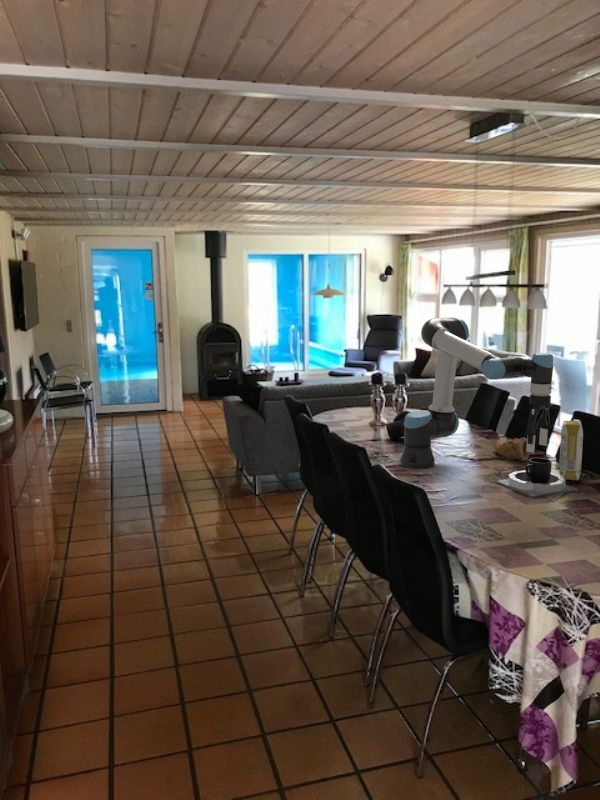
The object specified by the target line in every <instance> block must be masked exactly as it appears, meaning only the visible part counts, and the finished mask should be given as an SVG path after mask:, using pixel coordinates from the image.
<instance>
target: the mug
mask: <svg viewBox="0 0 600 800" xmlns="http://www.w3.org/2000/svg"><path fill="white" fill-rule="evenodd" d="M552 463H553V461H552V460H550V459H548V458H545V457H544V458H543V457H532V458H529V459H528V464H526V465H525V466H524V470H525V471H526V474H527V476H528V478H529V480H530V482H531V483H546V484H547V482H548V480H549V477H550V473H552V465H553V464H552Z"/></svg>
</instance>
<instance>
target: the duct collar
mask: <svg viewBox="0 0 600 800" xmlns="http://www.w3.org/2000/svg"><path fill="white" fill-rule="evenodd" d="M498 483H499V485H501V486H504V487H505V486H506V487H505V488H508V489H510V490H513V491H516V492H517V491H518V493H520V494H523V495H525V496H528V497H530V498H533V499H535V498H540V497H541V498H542V497H548V496H554V495H562V494H567V493H574V492H578V491H579V489H578V488H576V487H573V486H570V485H568V484H566V479H564V478H563V477H562V476H561V474H558V473H554V472H551V473H550V477H549V480H548V482H547V484H546V483H531V482H530V480H529V478H528V476H527V474H526V471H525V469H523V470H518V471H513V472H511V473H509V474H508V479H507V478H506V479H499V480H496V484H498Z"/></svg>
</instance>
